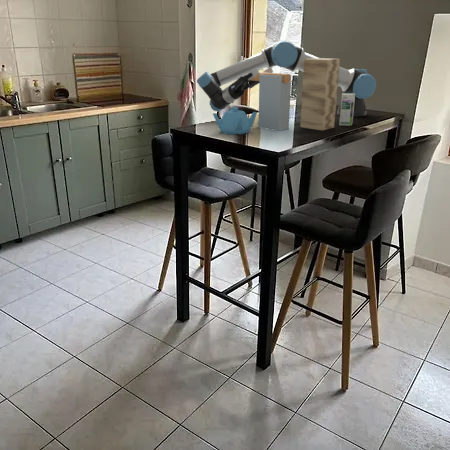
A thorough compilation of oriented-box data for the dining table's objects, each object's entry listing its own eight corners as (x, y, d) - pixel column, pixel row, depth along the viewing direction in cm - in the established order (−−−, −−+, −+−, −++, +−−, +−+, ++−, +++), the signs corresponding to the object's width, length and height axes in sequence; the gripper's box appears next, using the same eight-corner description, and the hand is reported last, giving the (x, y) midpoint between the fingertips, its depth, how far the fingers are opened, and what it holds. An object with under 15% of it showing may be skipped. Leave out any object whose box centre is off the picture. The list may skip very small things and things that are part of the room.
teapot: (259, 131, 207) (259, 106, 203) (240, 137, 195) (241, 111, 191) (230, 127, 215) (230, 104, 211) (211, 133, 203) (211, 108, 199)
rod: (255, 79, 216) (255, 71, 215) (289, 82, 203) (289, 74, 202) (250, 80, 214) (250, 72, 212) (284, 83, 201) (285, 74, 199)
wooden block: (312, 124, 222) (317, 58, 211) (334, 127, 214) (340, 58, 203) (300, 127, 215) (304, 58, 204) (322, 130, 208) (327, 59, 196)
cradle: (268, 125, 220) (270, 73, 211) (288, 128, 213) (291, 74, 204) (258, 127, 215) (259, 74, 206) (278, 130, 208) (280, 76, 199)
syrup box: (338, 125, 219) (341, 93, 213) (340, 123, 224) (343, 92, 219) (351, 126, 217) (354, 94, 212) (352, 124, 222) (355, 92, 217)
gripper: (251, 97, 232) (282, 76, 216) (220, 101, 218) (251, 79, 201) (245, 83, 232) (276, 61, 216) (214, 86, 218) (245, 63, 201)
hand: (264, 70), depth 208 cm, fingers open, 9 cm apart
